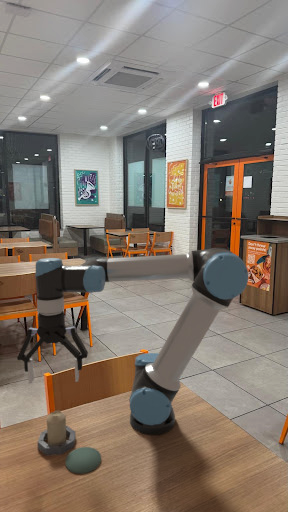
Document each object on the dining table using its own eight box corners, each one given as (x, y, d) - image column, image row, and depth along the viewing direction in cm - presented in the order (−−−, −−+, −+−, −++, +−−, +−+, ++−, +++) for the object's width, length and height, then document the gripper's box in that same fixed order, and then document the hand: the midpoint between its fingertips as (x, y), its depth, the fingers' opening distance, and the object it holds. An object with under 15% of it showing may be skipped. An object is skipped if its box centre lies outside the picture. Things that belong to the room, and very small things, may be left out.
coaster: (102, 448, 107) (102, 446, 107) (99, 473, 97) (99, 471, 97) (68, 449, 107) (68, 447, 107) (62, 474, 97) (62, 472, 97)
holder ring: (77, 431, 115) (76, 425, 115) (71, 454, 104) (71, 447, 104) (43, 432, 114) (43, 426, 114) (35, 455, 104) (34, 448, 104)
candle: (61, 450, 106) (60, 419, 105) (44, 447, 107) (43, 417, 106) (69, 438, 112) (68, 408, 110) (52, 436, 113) (51, 406, 111)
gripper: (95, 307, 108) (97, 373, 111) (11, 309, 107) (15, 375, 110) (93, 314, 100) (95, 385, 103) (2, 316, 99) (7, 388, 102)
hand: (54, 380), depth 106 cm, fingers open, 13 cm apart
